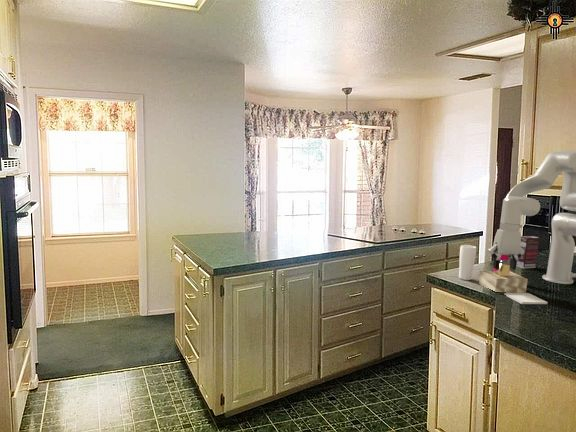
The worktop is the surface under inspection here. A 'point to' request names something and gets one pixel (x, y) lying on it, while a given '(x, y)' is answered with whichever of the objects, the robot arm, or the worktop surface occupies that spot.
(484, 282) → the bore block
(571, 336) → the worktop surface
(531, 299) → the mat
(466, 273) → the white cylinder
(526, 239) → the supplement box
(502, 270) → the yellow glass jar
